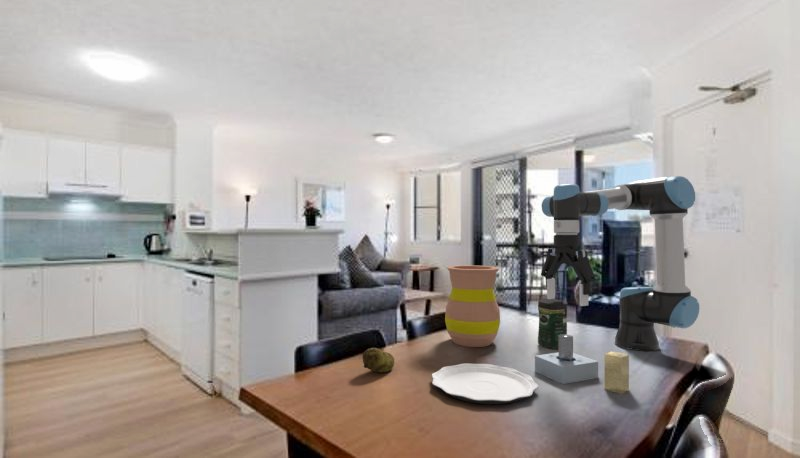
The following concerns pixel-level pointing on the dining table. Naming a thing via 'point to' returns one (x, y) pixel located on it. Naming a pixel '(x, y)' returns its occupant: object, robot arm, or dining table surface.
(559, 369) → the bore block
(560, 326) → the coffee jar
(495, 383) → the plate
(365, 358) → the potato
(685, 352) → the dining table surface
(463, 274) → the vase
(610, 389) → the square bit
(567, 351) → the round bit
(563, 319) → the coffee can
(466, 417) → the dining table surface
